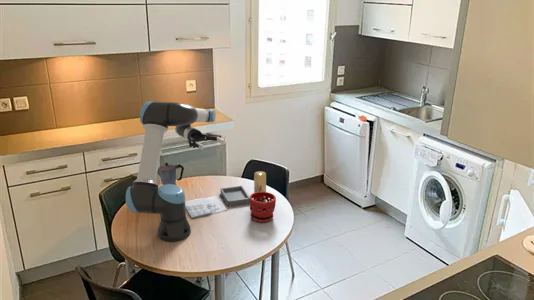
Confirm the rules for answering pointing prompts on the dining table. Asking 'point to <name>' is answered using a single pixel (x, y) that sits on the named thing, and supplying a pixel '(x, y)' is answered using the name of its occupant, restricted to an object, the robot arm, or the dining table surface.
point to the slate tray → (235, 195)
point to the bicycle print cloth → (199, 208)
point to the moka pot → (169, 173)
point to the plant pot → (262, 206)
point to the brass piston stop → (260, 183)
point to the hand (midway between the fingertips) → (213, 144)
